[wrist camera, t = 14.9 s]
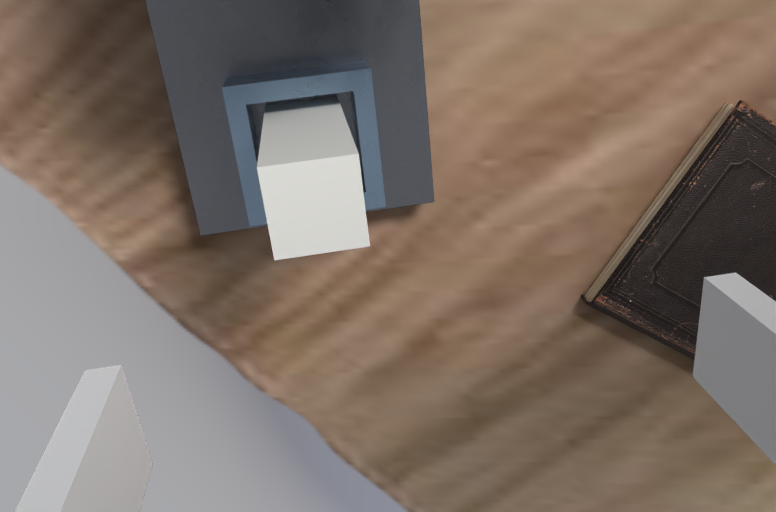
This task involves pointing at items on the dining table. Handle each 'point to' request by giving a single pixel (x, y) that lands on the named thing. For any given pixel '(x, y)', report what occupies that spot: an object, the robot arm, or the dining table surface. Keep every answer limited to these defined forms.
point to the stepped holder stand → (292, 93)
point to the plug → (311, 179)
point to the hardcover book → (698, 232)
